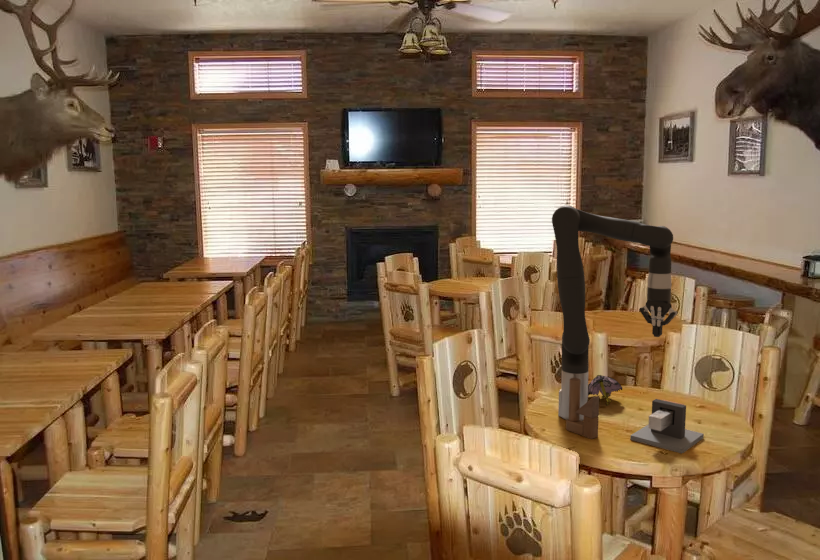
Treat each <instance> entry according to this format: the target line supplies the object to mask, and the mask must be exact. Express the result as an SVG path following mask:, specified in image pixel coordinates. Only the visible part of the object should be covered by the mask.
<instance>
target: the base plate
mask: <svg viewBox="0 0 820 560" xmlns="http://www.w3.org/2000/svg"><path fill="white" fill-rule="evenodd" d="M629 437H630V440H631V441H634V442H638V443H641V444H645V445H650V446H653V447H656V448H659V449H664V450H666V451H667V450H668V451H672V452H675V453H679V454H682V453H683V454H685V452H687V451H688V450H689V449H690V448H692V447H693V446H695V445H696V444H697V443H699V442H700V441H702V440H703V439H704V437H705V436H704V433H703V432H699V431H696V430H695V431H694V430H691V429H686V428H685V437H684V438H682V439H678V438H674V437H670V436H666V435H663V434H659V433H655V432H651V429H650V428H648V424H646V425H644V427H642V428H640V429H638V430H637V431H636V432H633V433H632V434H630V436H629Z"/></svg>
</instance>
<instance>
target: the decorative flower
mask: <svg viewBox="0 0 820 560" xmlns="http://www.w3.org/2000/svg"><path fill="white" fill-rule="evenodd" d="M620 390H621V391H623V386H622V384H620V383H619V382H618V380H616V379H615V378H612V377H611V376H610V377H609V376H606V375H602V374H598V375H596V377H594V378H593V379H592V380H591V382H589V383H588V397H589V396H590V395H591V396H594V395H595V396H599V394H601V395H602V396H601V399H605V400H606V403H605V404H606V406H609V405H610V403H611V402H612V400H611V399H610V398H609V397H610V396H612V394H611V393H613V392H618V391H620Z"/></svg>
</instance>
